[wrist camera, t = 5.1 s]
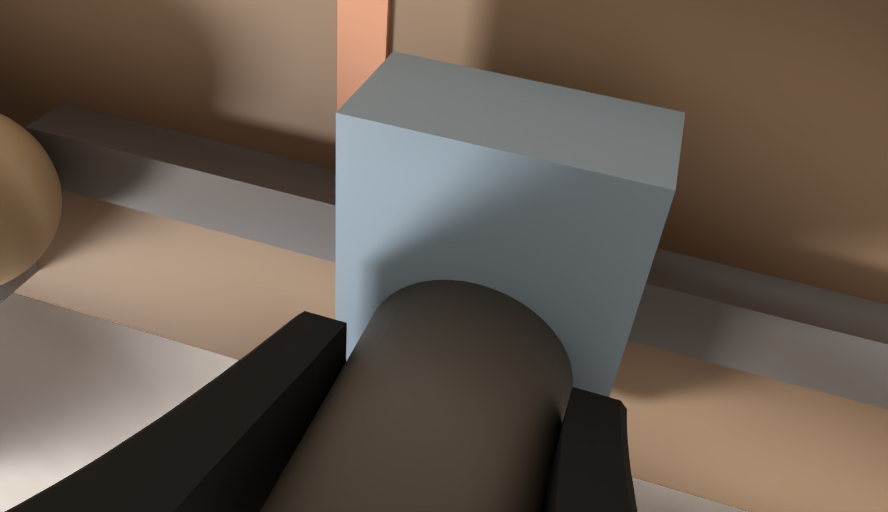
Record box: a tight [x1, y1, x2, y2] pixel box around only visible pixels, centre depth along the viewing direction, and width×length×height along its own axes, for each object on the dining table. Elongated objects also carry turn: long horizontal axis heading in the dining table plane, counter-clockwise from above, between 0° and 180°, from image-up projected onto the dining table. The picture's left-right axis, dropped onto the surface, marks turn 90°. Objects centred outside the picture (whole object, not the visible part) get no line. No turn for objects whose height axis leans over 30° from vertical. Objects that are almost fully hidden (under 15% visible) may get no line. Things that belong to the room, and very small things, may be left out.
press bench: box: [0, 0, 888, 512], centre depth 12 cm, size 10×28×6 cm, turn 84°
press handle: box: [259, 51, 685, 512], centre depth 10 cm, size 7×4×6 cm, turn 175°
